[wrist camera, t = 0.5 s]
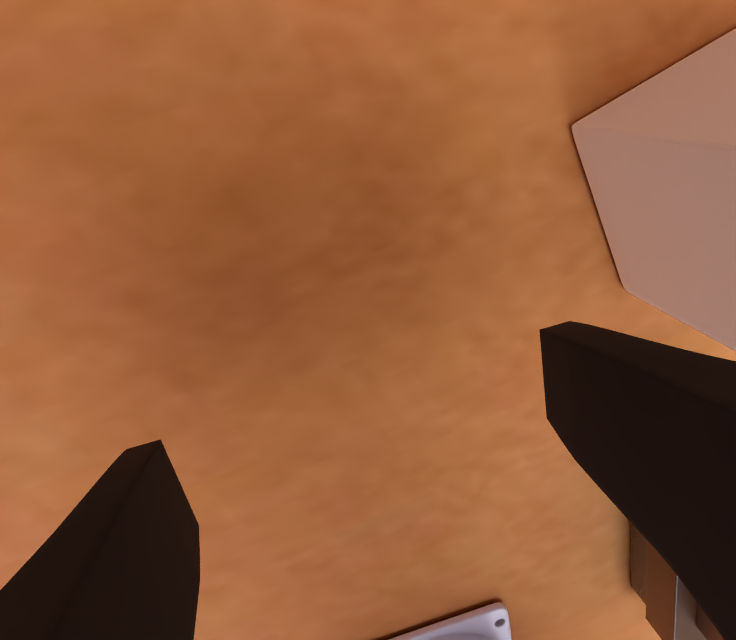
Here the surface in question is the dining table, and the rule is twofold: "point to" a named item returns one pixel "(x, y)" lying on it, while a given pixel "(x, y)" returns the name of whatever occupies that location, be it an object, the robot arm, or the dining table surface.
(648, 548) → the brush
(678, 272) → the milk carton
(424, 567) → the dining table surface
